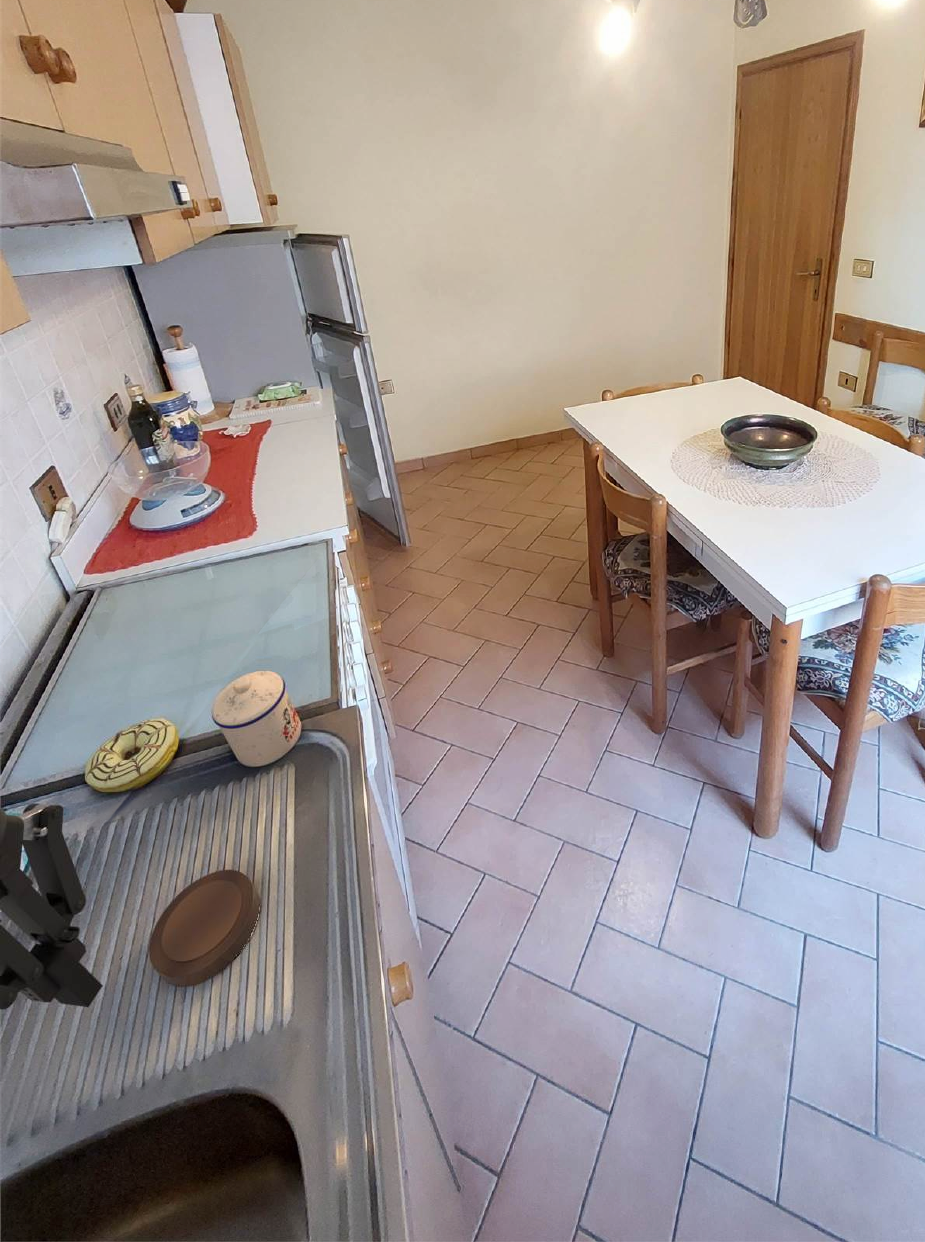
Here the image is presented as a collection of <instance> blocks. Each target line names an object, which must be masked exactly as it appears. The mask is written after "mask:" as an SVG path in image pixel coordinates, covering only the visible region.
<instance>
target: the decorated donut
mask: <svg viewBox="0 0 925 1242" xmlns="http://www.w3.org/2000/svg"><path fill="white" fill-rule="evenodd" d="M178 733H179V732H178V729H177V727H176V725H174V724H173V723H172V722H170V721H168V720H167V719H165V718H164V717H158V718H149V719H146V720H143V721H141V722H138V723H135V724H132V725H130V726H128V727H125V728H123V729H122V730H121V731H118V732H116V733H115V734H114V735H113V736H112V737H110V738H109V739H108V740H106V741H105V742H103V744H102V745H100V746H99V747H98V749H97V750H95V752H94V753H93V754H92V755H91V756H90V758H89V759H88V761H87V762H86V765H85V769H84V770H85V771H84V772H85V773H84V780H85V782H86V783H87V784H88V785H89V786H90V787H91V788H93V789H94V790H96V791H97V792H102V793H119V792H120V793H121V792H125V791H127V790H131V789H132V791H134V790H136V789H139V788H142V787H143V786H145V785H147V784H148V783H150V782H151V781H153V780H154V779H155V778H157V777H158V776H160V775H161V774H162V773H163V771H164V770H165V769H166V768H167V767H168V766H169V765H170V764H171V762H172V761H173V759H174V757H175V755H176V753H177V751H178V747H179V742H180V739H179V738H180V737H179V735H178ZM138 751H139V752H138ZM136 752H138V753H137V754H135V753H136ZM133 754H135V755H134V756H132V757H130V756H131V755H133ZM129 757H130V758H129ZM128 758H129V759H128ZM161 772H162V773H161Z"/></svg>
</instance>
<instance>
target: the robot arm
mask: <svg viewBox="0 0 925 1242" xmlns="http://www.w3.org/2000/svg"><path fill="white" fill-rule="evenodd" d="M63 822H64V807H63V806H62V805H60V804H51V803H50V804H48V803H37V802H33V803H30V804H28V805H27V806H26V807H24V809H23V811H22V813H21V814H18V815H11V814H7V813H6V811H5V810H4V809H3V808H2V807H1V806H0V911H1V912H2V913H3V914H4V915H5V916H6V917H7V918H8V919H9V920H10V921H12V923H14V924H15V925H16V926H17V928H18V929H20V930H21V931H22V932H23V933H24V934H25V935H26V936H27V937H29V939H31V941H33V942H38V943H35V944H34V945H33V947H32V948H31V949H30V951H29V949H27V948H26V947H25V946H24V945H23V944H22V943H21V942H20V941H18V940H17V938H16V937H14V935H13V934H12V933H10V932H9V931H8V929H6V928H5V927H4V926H3V925H2V924H1V922H2V919H0V1010H8V1009H9V1008H10V1007H11V1006H13V1004H14V1003H15V1001H16V1000H17V998H18V995H19V992H20V993H21V994H22V995H24V997H26V998H27V999H28V1000H29V1001H32V1002H39V1003H52V1001H53V1000H54V999H55V1000H56V1001H57V1002H58V1003H59V1004H61V1005H68V1006H76V1007H83V1008H89V1007H90V1006H91V1004H92V1003H93V1001H94V1000H95V998H96V997H97V995H98V994H99V992H100V991H101V989H102V988H103V983H101V982H100V981H99V980H98V979H97V978H96V977H95V976H94V975H93V974H92V973H91V972H90V971H89V970H88V969H87V968H86V967H85V966H84V965H83V964H82V963H81V962H80V961H81V960H82V958H84V956H85V954H86V953H87V948H86V945H85V944H84V943H83V942H82V941H81V940H80V939H79V936H80V932H81V929H80V927H79V926H74V925H72V921H73V919H74V917H75V916H76V915H79V914H80V913H81V912H82V911H83V910H84V908H85V906H86V904H87V898H86V896H85V892H84V889H83V887H82V884H81V881H80V878H79V876H78V873H77V869H76V867H75V865H74V862H73V859H72V856H71V853H70V850H69V846H68V844H67V842H66V839H65V836H64V833H63ZM23 850H24V852H25V855H26V858H27V861H28V863H29V866H30V868H31V871H32V874H33V876H34V879H35V882H36V884H37V886H38V890H39V892H38V890H37V889H35V888H34V886H32V885H33V884H34V882H33V880H32V879H31V878H30V877H29V876H28V875H27V874H26V873H25V872H24V871H23V870H22V869H21V866H22V865H21V864H22V855H23Z"/></svg>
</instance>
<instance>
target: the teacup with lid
mask: <svg viewBox="0 0 925 1242" xmlns="http://www.w3.org/2000/svg"><path fill="white" fill-rule="evenodd" d="M211 718H212V721H213V723H214V724H215V725H216V726H218V727H219V729H220V730H221V732H222V734H223V736H224V738H225V740H226V741H227V743H228V745H229V747H230V749H231V750H232V752H233V755H234V756H235V757H236V760H237V761H238V762H239V763H240V764H241V765H244V766H246V767H250V768H257V767H258V768H259V767H263V766H267V765H269V764H270V765H271V764H272V763H274V762H276V761H278V760H279V759H281V758H283V757H284V756H286V755H287V754H288V752H290V751H291V750H292V749H293V748H294V746H295V745H296V743H297V742H298V740H299V738H300V736H301V734H302V733H301V732H302V723H301V719H300V717H299V715H298V713H297V711H296V709H295V706H294V704H293V702H292V700H291V698H290V696H289V694H288V692H287V689H286V683H285V680H284V679H283V677H282V676H280V675H279V674H278V673H276V672H273V671H271V670H257V671H252V672H250V673H247V674H244V675H242V676H240V677H238V678H236V679H234V680H232V681H231V682H230V683H229V684H227V685H226V686H225V687H224V688H223V689H222V690H221V691H220V692H219V693H218V695H217V696H216V698H215V699H214V701H213V704H212V708H211Z"/></svg>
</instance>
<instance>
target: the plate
mask: <svg viewBox="0 0 925 1242" xmlns="http://www.w3.org/2000/svg"><path fill="white" fill-rule="evenodd" d="M257 892H258V890H257V889H256V887H255V885H254V883H253V882H252V881H251V879H250V878H249V876H247V874H245V873H243V872H241V871H239V870H236V869H221V870H217V871H213V872H211V873H210V872H209V873H207V874H206V875H204V876H202V877H199V878H198V879H196V880H195V881H193V882H191V883H190V884H189V885H187V886H186V887H185V888H184V889H182V890H181V891H180V892H179V893H178V894H177V895H176V896H175V897H174V898H173V899H172V900H171V901H170V903H169V904H168V905H167V906H166V908H165V909H164V911H162V913H161V915H160V916H159V918H158V920H157V921H156V924H155V926H154V928H153V931H152V933H151V935H150V940H149V947H148V955H149V961H150V963H151V966H152V967H153V968H154V970H155V971H156V972H157V973H158V975H159V976H160V977H161V978H162V979H163V980H164V981H166V983H167V984H169V985H172V986H174V987H183V988H185V987H192V986H196V985H199V984H202V983H204V982H207V981H209V980H210V979H213V978H214V977H215V976H217V975H218V974H220V973H222V972H223V971H224V970H225V969H226V968H228V967H229V966H230V965H231V964H232V963H233V962H234V961H235V960H234V958H235V957H236V955H238V954H239V953H240V951H241V950H242V949H243V947H244V945H245V944H246V943H247V941H248V939H249V938H250V936H251V933H252V932H253V929H254V927H255V924H256V921H257V918H258V914H259V907H260V903H261V901H260V902H259V897H260V894H259V892H258V893H257ZM258 894H259V895H258ZM243 950H244V949H243ZM240 954H241V953H240ZM240 954H239V955H240ZM233 960H234V961H233ZM232 961H233V962H232ZM231 962H232V963H231ZM230 963H231V964H230ZM229 964H230V965H229ZM228 965H229V966H228Z"/></svg>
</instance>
